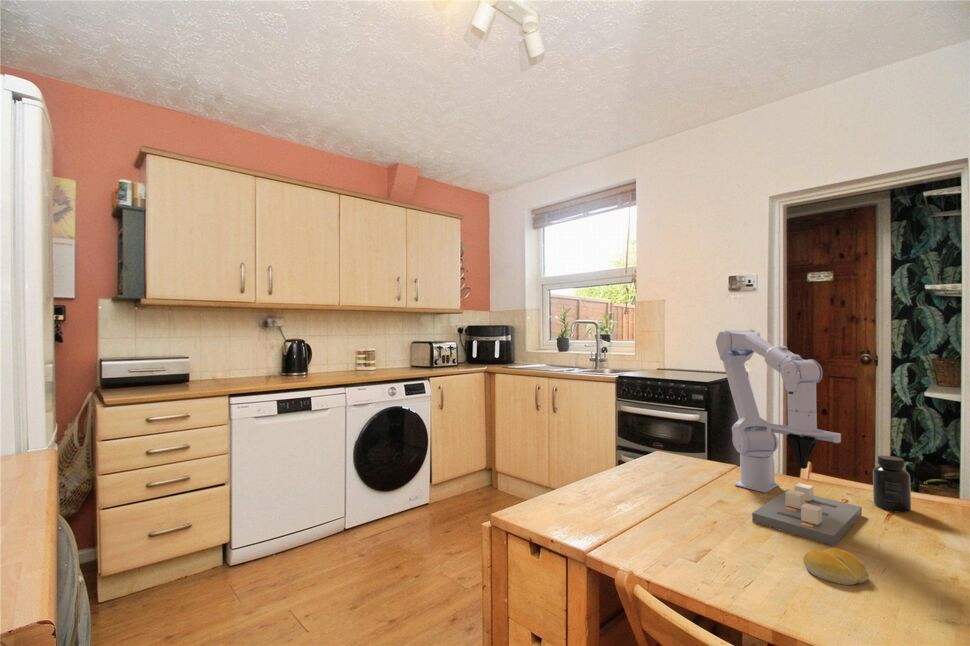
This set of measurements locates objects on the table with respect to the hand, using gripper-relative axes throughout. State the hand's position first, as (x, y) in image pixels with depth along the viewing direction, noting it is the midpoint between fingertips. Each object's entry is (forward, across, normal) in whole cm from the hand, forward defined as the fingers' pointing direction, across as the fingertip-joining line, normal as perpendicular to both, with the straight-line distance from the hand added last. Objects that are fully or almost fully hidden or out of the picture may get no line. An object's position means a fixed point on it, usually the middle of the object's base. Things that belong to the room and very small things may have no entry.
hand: (802, 467), depth 108 cm
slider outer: (+8, +5, -11) cm, 14 cm away
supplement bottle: (+11, +13, +19) cm, 25 cm away
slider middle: (+8, 0, -4) cm, 9 cm away
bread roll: (+11, +12, -27) cm, 32 cm away
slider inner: (+8, -1, +3) cm, 9 cm away
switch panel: (+10, +2, -4) cm, 11 cm away
